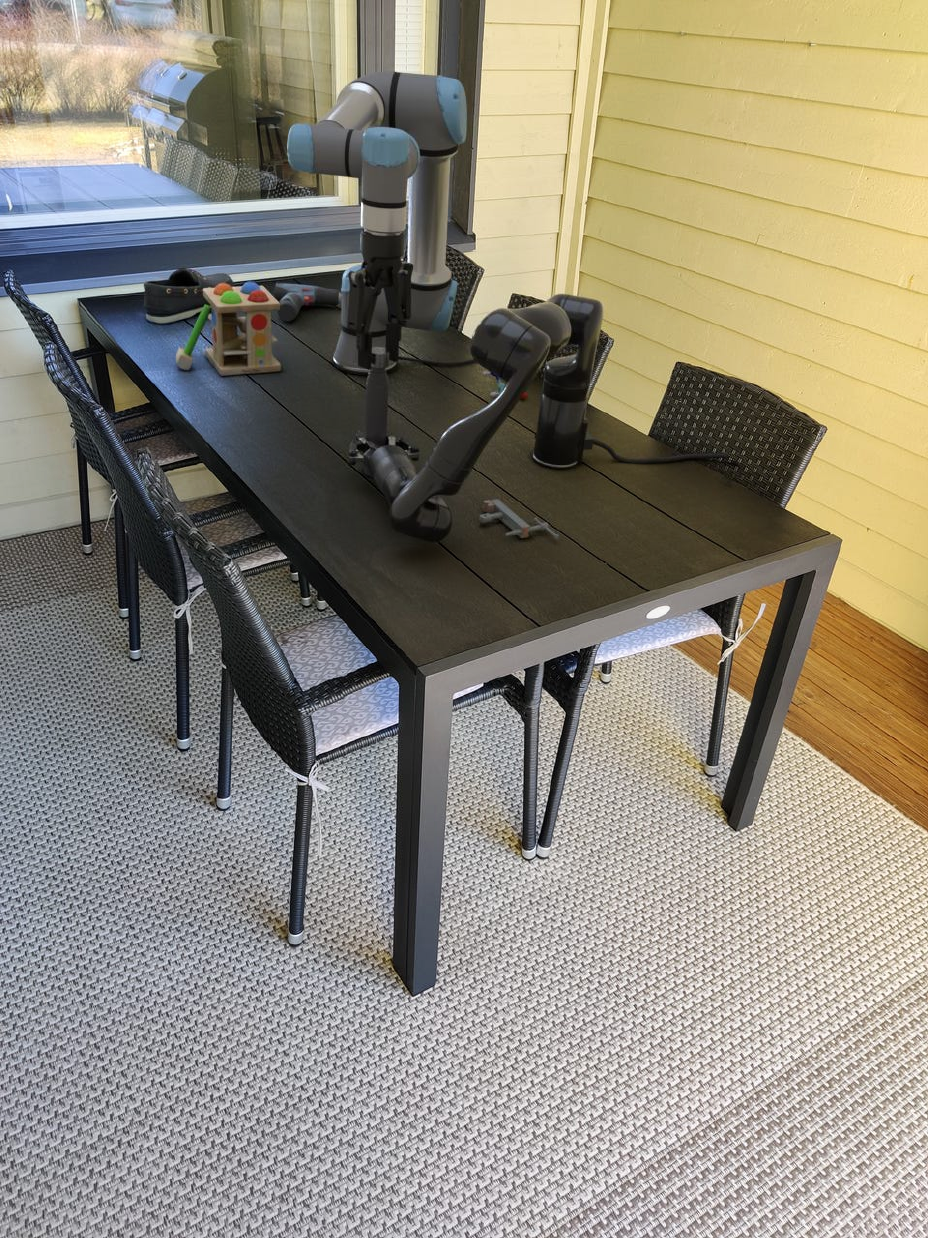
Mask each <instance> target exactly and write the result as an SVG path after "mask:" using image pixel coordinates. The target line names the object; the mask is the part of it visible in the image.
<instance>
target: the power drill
mask: <svg viewBox="0 0 928 1238" xmlns="http://www.w3.org/2000/svg"><path fill="white" fill-rule="evenodd" d="M274 298H275V299H276V300H277V301H278V302H279V303H280V310H277V315H278V318H279V319H280V320H281V321H284V322H292V321H293V320H295V318H296V317H297V316H298V314H299V312H300V310H301V309H302V307H303V306H306V307H309V306H312V307H313V306H338V305H339V304H342V292H341V291H339V290H338V289H335V288H334V289H332V288H325V287H321V286H316V285H307V284H297V283H281V282H276V283H275V285H274Z"/></svg>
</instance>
